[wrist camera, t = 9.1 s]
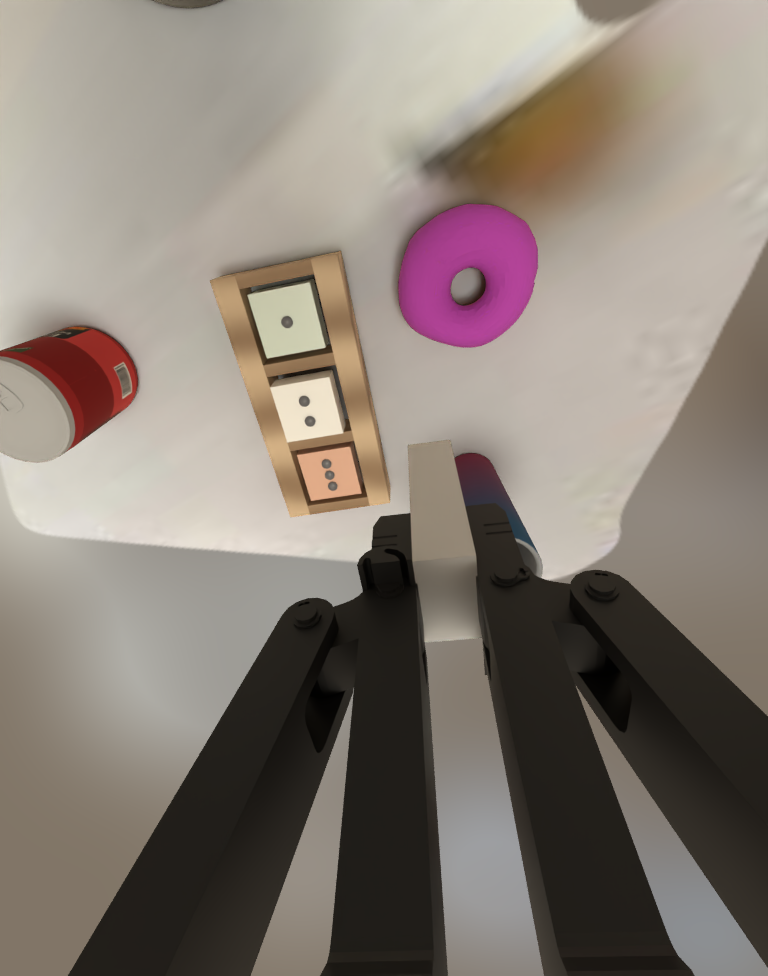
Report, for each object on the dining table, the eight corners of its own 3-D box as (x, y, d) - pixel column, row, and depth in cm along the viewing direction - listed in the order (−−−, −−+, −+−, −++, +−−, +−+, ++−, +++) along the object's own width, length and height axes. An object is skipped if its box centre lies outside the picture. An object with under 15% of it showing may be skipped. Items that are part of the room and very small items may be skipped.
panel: (222, 276, 39) (209, 280, 37) (340, 251, 38) (336, 254, 35) (296, 501, 50) (290, 517, 47) (390, 487, 49) (390, 502, 46)
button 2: (275, 379, 41) (269, 388, 39) (332, 369, 40) (328, 377, 38) (291, 432, 43) (286, 443, 41) (345, 423, 43) (343, 434, 41)
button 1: (254, 290, 39) (246, 295, 37) (313, 278, 38) (309, 282, 36) (272, 352, 41) (266, 359, 39) (328, 341, 41) (325, 348, 39)
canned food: (82, 305, 41) (-15, 334, 31) (159, 376, 44) (92, 423, 34) (35, 362, 43) (-68, 405, 34) (110, 426, 46) (36, 481, 37)
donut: (387, 324, 41) (386, 336, 37) (417, 188, 36) (419, 185, 32) (503, 351, 42) (513, 365, 38) (547, 221, 37) (565, 223, 33)
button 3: (300, 445, 46) (296, 456, 44) (351, 437, 45) (349, 447, 43) (314, 489, 48) (310, 501, 46) (362, 482, 48) (361, 494, 46)
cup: (448, 512, 50) (465, 618, 37) (425, 458, 47) (435, 553, 34) (511, 491, 49) (552, 593, 36) (492, 434, 46) (529, 523, 33)
